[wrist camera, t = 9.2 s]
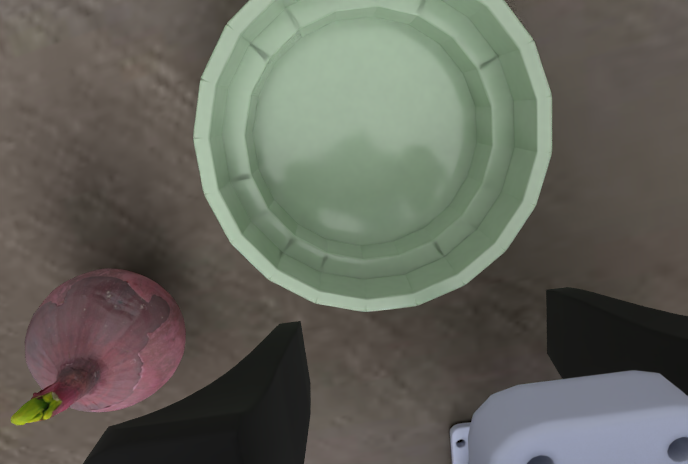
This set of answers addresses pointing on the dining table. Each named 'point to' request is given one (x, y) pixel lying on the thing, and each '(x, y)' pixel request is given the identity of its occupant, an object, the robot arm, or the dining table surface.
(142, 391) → the vegetable
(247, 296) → the dining table surface
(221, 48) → the bowl
